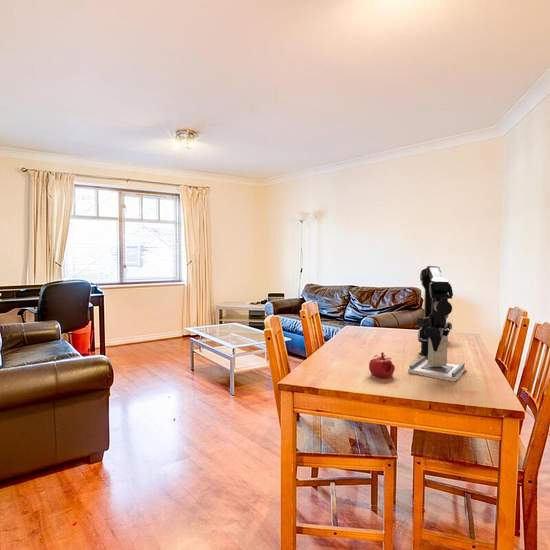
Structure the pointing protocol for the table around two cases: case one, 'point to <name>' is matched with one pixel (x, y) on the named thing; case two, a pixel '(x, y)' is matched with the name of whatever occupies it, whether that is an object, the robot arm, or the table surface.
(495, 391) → the table surface
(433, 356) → the skincare box
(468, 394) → the table surface
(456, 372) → the stand
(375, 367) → the pomegranate
